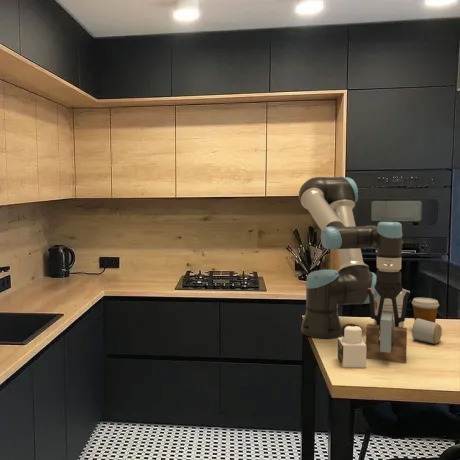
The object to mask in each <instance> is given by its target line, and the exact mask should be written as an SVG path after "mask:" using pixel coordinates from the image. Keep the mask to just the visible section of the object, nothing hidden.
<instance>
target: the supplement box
mask: <svg viewBox="0 0 460 460" xmlns="http://www.w3.org/2000/svg"><path fill="white" fill-rule="evenodd" d="M396 302H397V309H398V316H399V317H401V313H402V305H403V296H402V292H400V293H399V295H398V296H397V297H396ZM379 303H380V295H379V294H378V293H377V296H376V298H375V300H374V306H375V315H377V314H378V308H379ZM383 310H387V311H393V306H392V299H389V298H387V299H384V304H383V309H382V313H383ZM381 317H382V315H381ZM373 321H374V322H373V324H375V325H376V323H377V322H376V320H374V319H373ZM393 321H395V320H394V313H393ZM399 327H404V322H400V323H399Z"/></svg>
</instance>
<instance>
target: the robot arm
mask: <svg viewBox="0 0 460 460" xmlns="http://www.w3.org/2000/svg"><path fill="white" fill-rule="evenodd" d="M358 193H359V191H358V186H357V183H356V182H355V180H354V179H352V177H351V178H350V177H347V176H346V177H344V176H338V177H337V176H336V177H335V176H330V177H329V176H327V177H326V176H315V177H311V178H309V179H307V180H306V181H305V182H304V183H303V184H302V185H301V187H300V189H299V191H298V199H299V203H300V204H301V206H302V207H303V208H304V209H306V210H307V211H308V212H309V213H310V215H311V217H312V218H313V220H314V221H315V223H316V224H317V226H318V228H319V229H320V242H321V245H322V247H323V248H324V249H326V250H334V251H335V250H337V253H338V258H339V263H340V264H339V265H340V267H339V269H338V270H336V269H326V268H325V269H319V270H314V271H311V272H310V273H308V274H307V276H306V284H305V288H306V291H305V292H306V293H305V294H306V295H305V298H306V299H305V301H306V302H305V308H306V309H305V314H304V317H303V319H302V322H301V327H300V331H301V333H302V334H303V335H305V336H306V337H311V338H313V339H314V338H315V339H336V338H340V337H342V326H343V325H342V323H341V319H340V317H339V313H338V312H339V310H338V309H339V307H338V306H339V305H340V306H343V305H364V304H369V311H370V319H371V320H373V321H374V320H376V322H377V323H376V325H380V336H379V338H380V337H381V315H382V309H383V304H384V299H387V298H389V299H392V306H393V313H394V320H395V321H393V323H392V342H393V340H394V326H395V327H399V323H400V322H403V323H404V322H405V320H406V314H407V305H408V299H409V297H410V295H411V291H410V290H407V289H404V288H403V286H402V271H400V270H401V269H402V255H403V254H402V250H403V226H402V224H401V222H398V221H379V222H378V223H377V226H376V225H366V226H357V225H356V221H355V216H354V213H353V209H354V208H355V206H356V203H357V202H358V199H359V195H358ZM362 249H375V250H376V268H377V270H376V273H375V272H372V271H370V267H369V265H368V264H366V263H365V262H364V260H363V259H364V258H363V255H362ZM400 292H402V296H403V305H402V313H401V317H399V316H398V309H397V302H396V297H397V296H398V295H399V293H400ZM377 293H378V294H379V295H380V303H379V308H378V314H377V315H375V298H376V296H377Z"/></svg>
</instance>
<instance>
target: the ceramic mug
mask: <svg viewBox="0 0 460 460" xmlns="http://www.w3.org/2000/svg"><path fill="white" fill-rule="evenodd" d="M411 328H412V330H411V336H412V339H413V340H414V341H419V342H424V343H429V344H432V345H433V344H438V343H439V342H440V340H441V338H442V335H443V334H442V331H443V329H442V326H441V325H440V324H439V323H437V322H435V323H434V322H430V321H427V320H423V319H419V318H417V319H416V320H414V321H413V324H412V327H411Z"/></svg>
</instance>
